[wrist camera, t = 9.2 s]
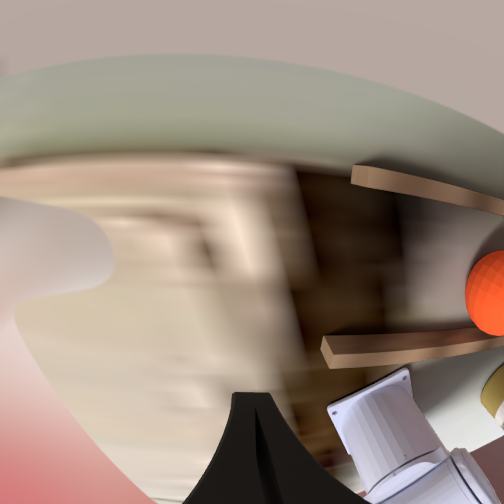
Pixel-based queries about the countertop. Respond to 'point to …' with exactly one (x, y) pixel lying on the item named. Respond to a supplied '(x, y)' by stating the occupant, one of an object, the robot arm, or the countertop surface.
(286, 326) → the countertop surface
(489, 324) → the clementine
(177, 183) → the countertop surface
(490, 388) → the paper tube
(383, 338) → the holder
